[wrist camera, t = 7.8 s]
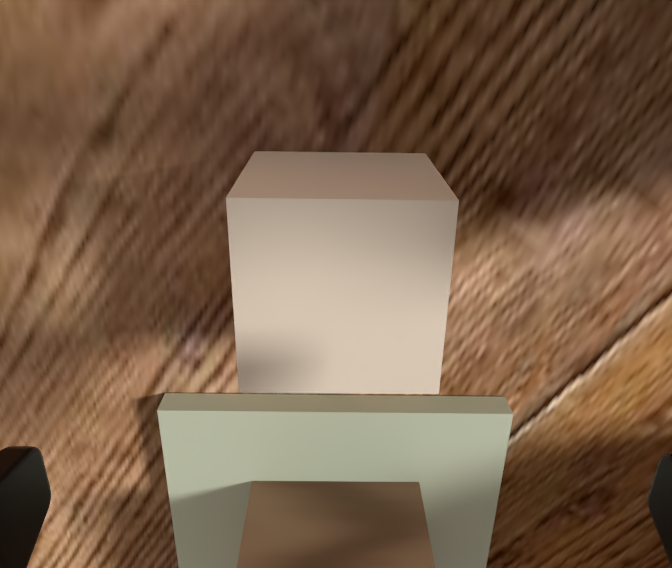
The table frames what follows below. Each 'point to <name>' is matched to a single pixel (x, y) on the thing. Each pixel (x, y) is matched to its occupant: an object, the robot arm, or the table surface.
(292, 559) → the walnut block
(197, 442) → the baseplate
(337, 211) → the cream block
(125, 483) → the table surface
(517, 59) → the table surface
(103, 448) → the table surface
